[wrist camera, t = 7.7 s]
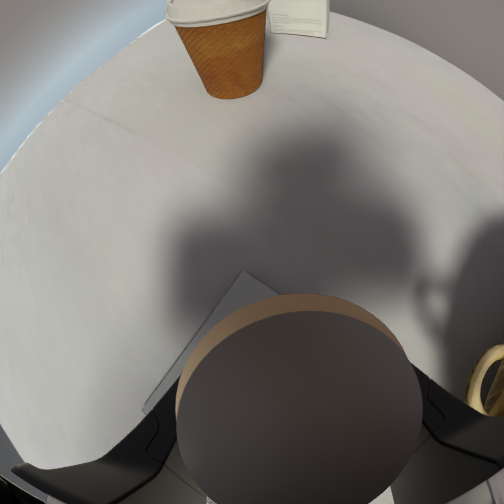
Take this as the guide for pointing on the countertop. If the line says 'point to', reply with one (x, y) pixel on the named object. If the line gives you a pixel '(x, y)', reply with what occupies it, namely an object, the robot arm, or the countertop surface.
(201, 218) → the countertop surface
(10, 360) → the countertop surface
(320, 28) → the skincare box
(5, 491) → the robot arm
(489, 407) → the gold ornate bowl
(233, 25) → the disposable coffee cup
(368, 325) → the oak pepper mill
